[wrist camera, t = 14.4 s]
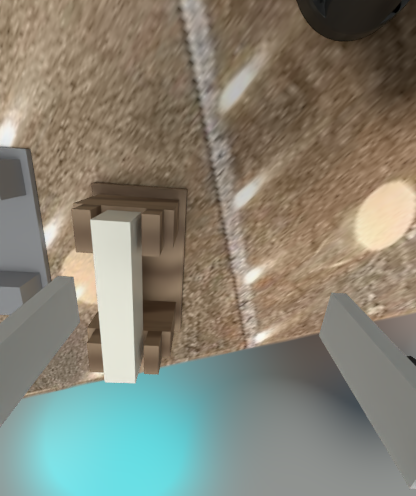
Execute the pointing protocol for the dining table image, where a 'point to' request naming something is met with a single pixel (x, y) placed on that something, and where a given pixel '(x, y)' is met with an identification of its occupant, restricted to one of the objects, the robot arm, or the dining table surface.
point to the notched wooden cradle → (143, 261)
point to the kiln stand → (20, 232)
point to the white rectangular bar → (119, 292)
